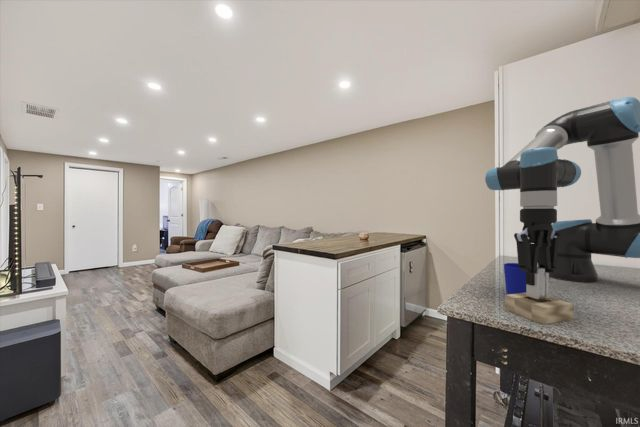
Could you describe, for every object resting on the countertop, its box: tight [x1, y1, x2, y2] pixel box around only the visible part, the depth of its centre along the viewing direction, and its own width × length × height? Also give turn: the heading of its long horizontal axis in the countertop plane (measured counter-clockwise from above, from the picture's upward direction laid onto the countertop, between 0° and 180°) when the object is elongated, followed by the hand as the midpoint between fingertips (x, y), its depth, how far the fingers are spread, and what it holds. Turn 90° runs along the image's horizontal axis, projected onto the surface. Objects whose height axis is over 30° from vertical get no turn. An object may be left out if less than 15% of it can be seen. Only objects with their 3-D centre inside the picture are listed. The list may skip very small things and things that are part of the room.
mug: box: [503, 262, 550, 295], centre depth 82 cm, size 8×12×10 cm
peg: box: [530, 266, 545, 303], centre depth 69 cm, size 3×3×12 cm
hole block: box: [504, 293, 574, 325], centre depth 69 cm, size 10×10×4 cm
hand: (537, 296), depth 69 cm, fingers closed on peg, 3 cm apart
